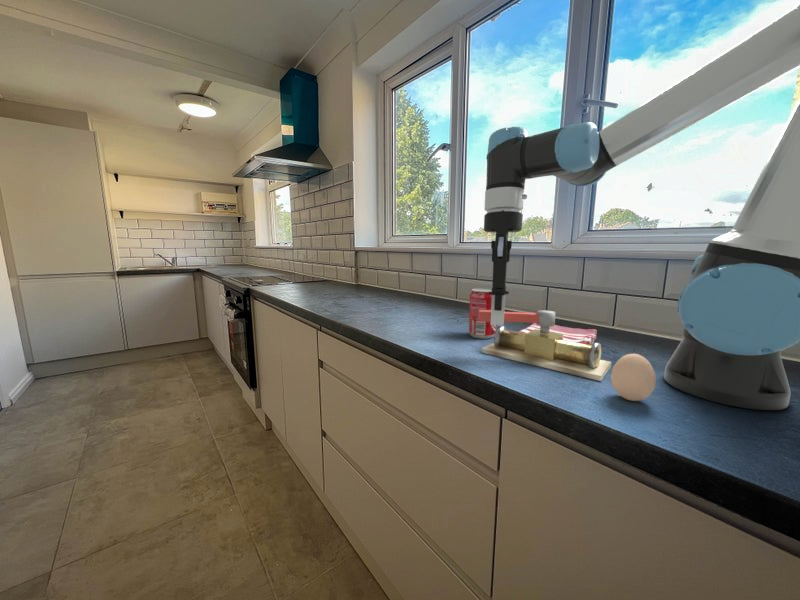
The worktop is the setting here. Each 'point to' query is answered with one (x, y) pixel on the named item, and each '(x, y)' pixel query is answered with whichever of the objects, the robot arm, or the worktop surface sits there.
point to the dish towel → (568, 333)
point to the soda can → (478, 302)
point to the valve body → (548, 346)
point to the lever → (524, 318)
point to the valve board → (551, 362)
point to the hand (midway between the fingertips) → (497, 324)
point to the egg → (633, 377)
